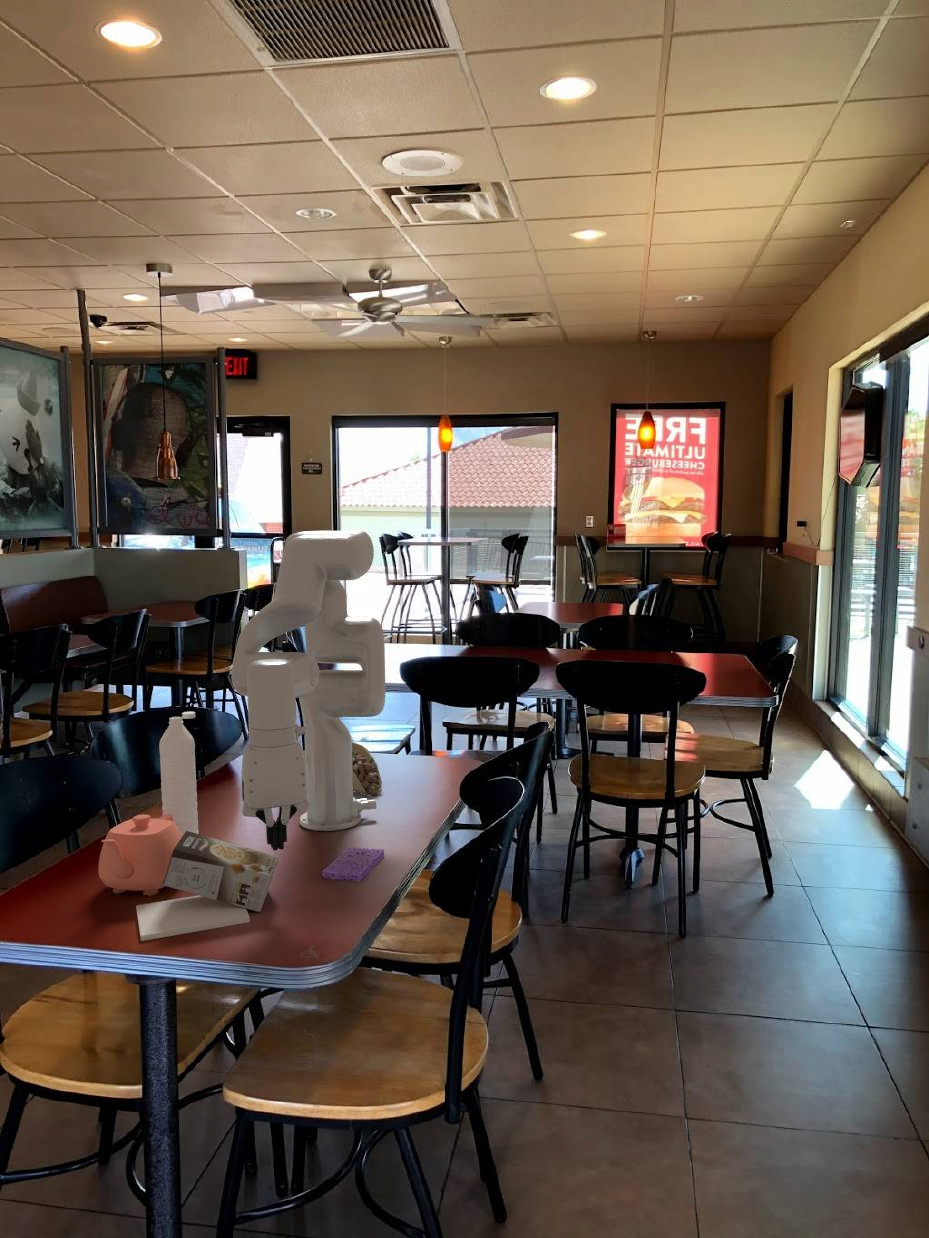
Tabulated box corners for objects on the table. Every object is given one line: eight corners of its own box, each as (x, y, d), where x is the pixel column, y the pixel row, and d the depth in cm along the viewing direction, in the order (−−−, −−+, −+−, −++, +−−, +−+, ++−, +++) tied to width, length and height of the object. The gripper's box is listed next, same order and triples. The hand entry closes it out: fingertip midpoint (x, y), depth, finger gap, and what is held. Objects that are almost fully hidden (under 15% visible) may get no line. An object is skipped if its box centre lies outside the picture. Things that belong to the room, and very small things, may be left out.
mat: (237, 893, 154) (237, 889, 154) (249, 922, 143) (249, 917, 143) (136, 910, 148) (136, 905, 148) (140, 941, 137) (140, 935, 137)
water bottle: (186, 851, 174) (180, 721, 172) (156, 848, 176) (150, 719, 174) (212, 836, 183) (206, 712, 180) (183, 833, 185) (178, 710, 182)
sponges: (384, 858, 171) (384, 849, 170) (359, 884, 159) (359, 874, 158) (349, 855, 172) (349, 845, 172) (321, 881, 160) (321, 870, 160)
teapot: (71, 907, 150) (66, 834, 148) (140, 862, 169) (137, 798, 168) (144, 914, 147) (140, 840, 145) (206, 868, 166) (204, 802, 165)
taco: (319, 772, 230) (318, 732, 229) (393, 792, 212) (392, 749, 211) (287, 780, 223) (286, 739, 222) (361, 802, 205) (360, 757, 204)
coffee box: (272, 876, 146) (172, 848, 144) (260, 913, 146) (161, 886, 144) (279, 855, 155) (185, 829, 153) (268, 890, 155) (174, 865, 154)
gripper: (313, 727, 154) (316, 833, 156) (222, 736, 148) (226, 846, 150) (324, 736, 147) (327, 847, 149) (229, 746, 141) (233, 862, 143)
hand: (277, 847), depth 150 cm, fingers closed
